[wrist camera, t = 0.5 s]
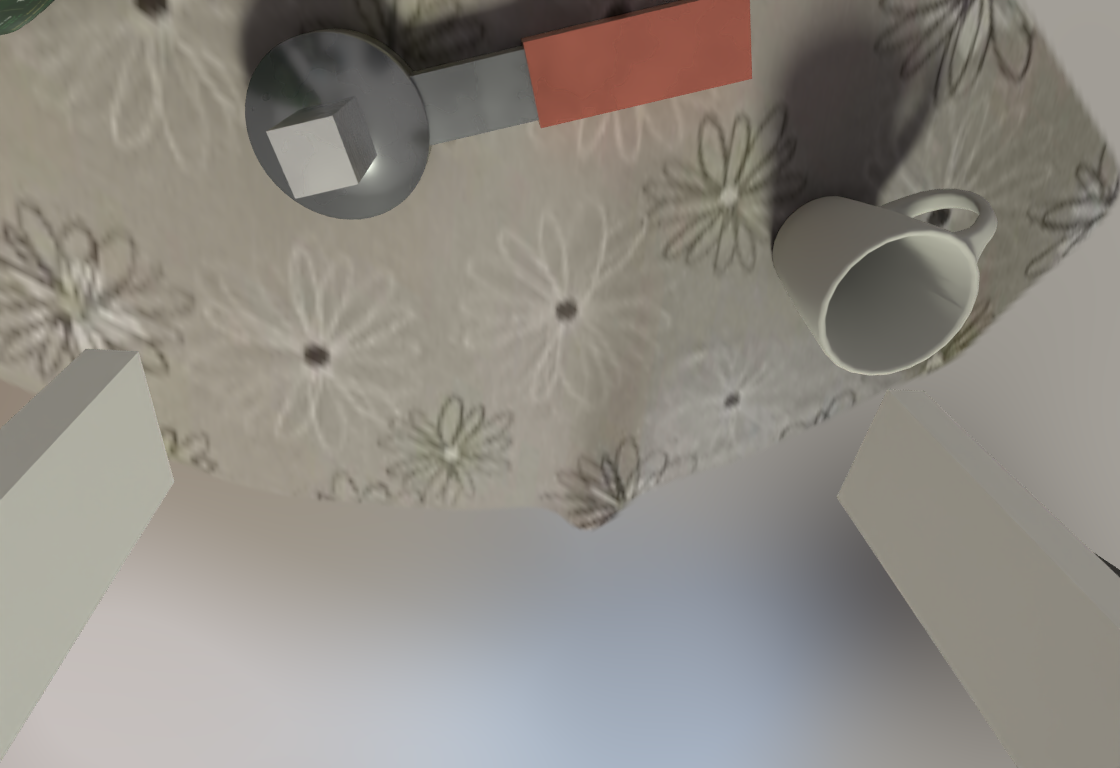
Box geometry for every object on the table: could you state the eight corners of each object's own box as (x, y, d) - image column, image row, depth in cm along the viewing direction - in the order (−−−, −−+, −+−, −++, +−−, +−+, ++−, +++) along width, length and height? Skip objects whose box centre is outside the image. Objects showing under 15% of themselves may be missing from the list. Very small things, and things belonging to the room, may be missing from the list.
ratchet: (304, 219, 33) (261, 275, 27) (231, 51, 29) (158, 70, 22) (737, 119, 32) (796, 151, 26) (728, -70, 28) (798, -85, 22)
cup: (730, 237, 36) (790, 301, 29) (892, 116, 33) (1003, 153, 26) (791, 326, 39) (859, 403, 32) (942, 223, 37) (1052, 282, 29)
